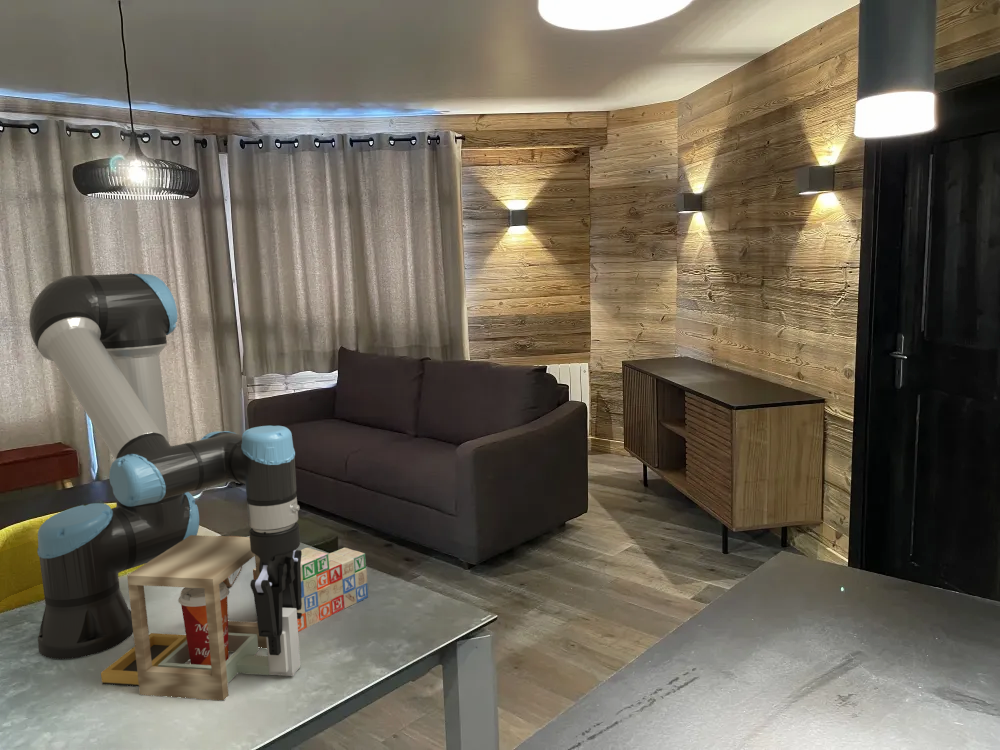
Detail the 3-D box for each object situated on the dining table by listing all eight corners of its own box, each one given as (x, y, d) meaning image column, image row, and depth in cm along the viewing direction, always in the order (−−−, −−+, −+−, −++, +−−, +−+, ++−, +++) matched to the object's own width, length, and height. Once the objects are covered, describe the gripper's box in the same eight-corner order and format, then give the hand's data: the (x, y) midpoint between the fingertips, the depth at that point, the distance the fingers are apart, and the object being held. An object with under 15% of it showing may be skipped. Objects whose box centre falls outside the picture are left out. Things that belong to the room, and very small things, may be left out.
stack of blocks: (347, 590, 151) (344, 532, 149) (368, 598, 147) (365, 538, 146) (256, 632, 134) (251, 567, 133) (278, 642, 131) (273, 576, 129)
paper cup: (205, 686, 117) (197, 602, 115) (175, 673, 121) (167, 592, 119) (245, 663, 124) (239, 583, 122) (216, 651, 128) (209, 574, 126)
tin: (232, 566, 165) (229, 529, 164) (247, 565, 166) (244, 528, 164) (214, 595, 150) (211, 555, 149) (230, 594, 151) (227, 554, 149)
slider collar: (159, 682, 118) (153, 622, 116) (198, 647, 129) (193, 591, 127) (281, 690, 114) (276, 629, 113) (310, 653, 125) (306, 597, 124)
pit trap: (102, 684, 118) (100, 672, 118) (152, 643, 131) (151, 633, 131) (142, 687, 117) (140, 675, 117) (188, 645, 130) (187, 635, 130)
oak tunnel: (139, 694, 115) (127, 575, 112) (200, 640, 132) (190, 535, 129) (223, 700, 113) (212, 579, 110) (274, 644, 129) (266, 537, 127)
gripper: (273, 544, 108) (284, 694, 112) (317, 509, 124) (325, 640, 127) (225, 543, 109) (237, 690, 113) (275, 507, 125) (284, 638, 128)
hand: (284, 664), depth 120 cm, fingers closed on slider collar, 3 cm apart
